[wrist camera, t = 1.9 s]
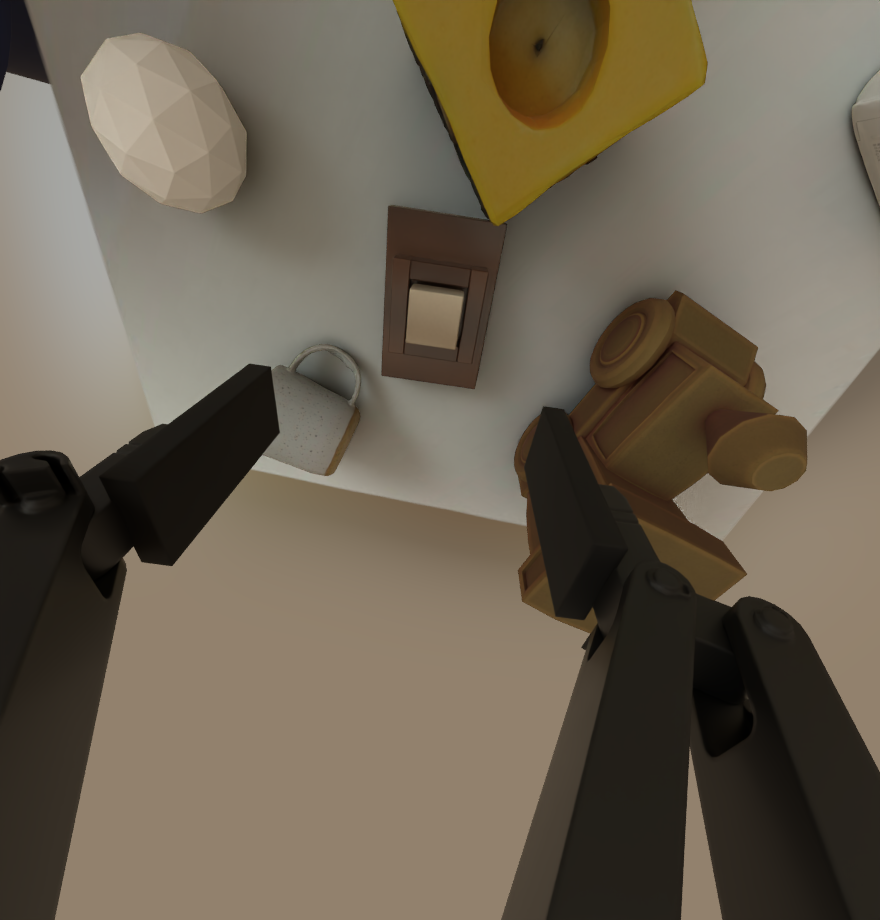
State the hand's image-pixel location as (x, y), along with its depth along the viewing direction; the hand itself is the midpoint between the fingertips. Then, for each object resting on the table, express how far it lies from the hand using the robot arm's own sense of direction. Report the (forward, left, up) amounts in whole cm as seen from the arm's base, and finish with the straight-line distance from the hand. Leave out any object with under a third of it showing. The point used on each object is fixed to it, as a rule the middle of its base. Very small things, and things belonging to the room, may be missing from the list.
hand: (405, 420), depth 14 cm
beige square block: (0, 0, -16) cm, 16 cm away
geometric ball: (-8, -17, -20) cm, 27 cm away
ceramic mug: (+10, -10, -20) cm, 24 cm away
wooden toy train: (+7, +16, -20) cm, 27 cm away
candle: (-13, +3, -20) cm, 24 cm away
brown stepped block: (0, 0, -20) cm, 20 cm away
